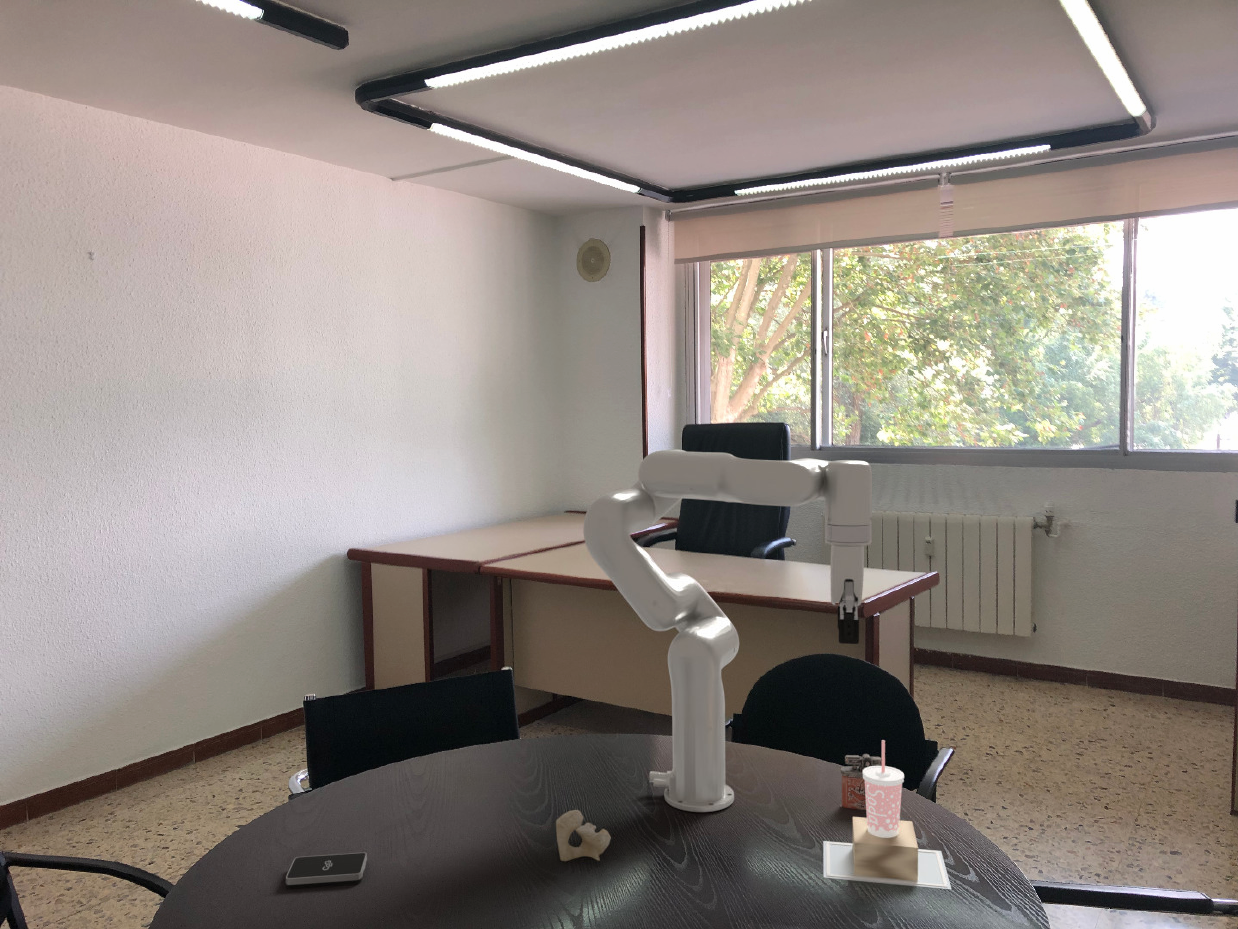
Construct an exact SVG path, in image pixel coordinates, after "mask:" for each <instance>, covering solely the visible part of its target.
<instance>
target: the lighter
mask: <svg viewBox="0 0 1238 929" xmlns="http://www.w3.org/2000/svg"><path fill="white" fill-rule="evenodd" d="M844 763H845V764H846V765H847V766H842V767H841V768H840V775H841V804H840V808H844V809H850V810H859V811H860V810H864V811H866V795H865V780H864V779H863V770H864V769H865V768H867V767H870V766H882V757H880V756H870V754H868V753H864V754H862V756H859V755H855V754H854V755H849V754H847V755H845V756H844ZM849 765H851V766H849Z"/></svg>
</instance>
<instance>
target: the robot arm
mask: <svg viewBox="0 0 1238 929" xmlns="http://www.w3.org/2000/svg"><path fill="white" fill-rule="evenodd" d="M637 473H638V474H637V475H638V481H636V483H634V484H633V485H632V486H631V487H629V488H626V489H618V490H614V491H609V492H606V493H604V494H602V495H600V496H598V497H597V498H596V499H595V500H593V501H592V503H591V504H590V505H589V507H588V508H587V511H586V513H585V516H584V520H583V539H584V542H585V546H586V548H587V550H588V552H589V555H590V556H591V557H592V559H593V561H594V562H595V563H596V564H597V566H598V567H599V568H600V569H601V570H602V571H603V573H604V574H605V575H606V576H607V578H608V579H609V580H610V581H611V582H612V583H613V585H614V586H615V587H616V589H617V591H618V592H619V593H620V595H621V596H623V598H624V599H625V601H626V602H627V603H628V604H629V606H630V607H631V608H632V609H633V611H634V612H635V613H636V614H637V616H638V617H639V618H640V620H641V621H642V622H643V623H644V624H645V625H646V626H647V627H648V628H650V630H653V631H656V632H666V631H668V630H671V629H674V628H675V629H676V630H677V631H678V633H677V634H676V635H675V637H673V639H672V641H671V643H670V644H669V648H668V651H667V652H668V653H667V664H668V665H667V666H668V673H669V679H670V686H671V687H670V688H671V717H672V720H671V722H672V769H671V770H667V771H666V772H660V771H654V770H653V771H649V775H648V776H649V777H648V778H649V780H648V781H649V783H653V787H658V788H661V787H662V788H665V790H664V795H663V796H664V800H665V801H666V803H667V804H669V805H670V806H671V807H673V808H676V809H678V810H682V811H686V812H690V813H691V812H692V813H710V812H717V811H720V810H723V809H726V808H728V807H730V806H731V805H732V804H733V802H734V800H735V792H734V790H733V789H732V788H731V786H729V785H728V784H726V700H725V691H724V690H725V689H724V685H723V680H722V669H724V667H725V666H726V665H728V664H730V663H731V662H732V661H733V660H734V659H735V657H736V656H737V654H738V652H739V647H740V638H739V634H738V630H737V629H736V627H735V626H734V624H733V623H732V621H731V620H730V619H729V618H728V616H727V615H726V614H725V612H724V611H723V610H722V609H721V608H720V606H719V605H718V604H717V603H716V601H715V600H714V599H713V598H712V597H711V595H710V594H709V593H708V592H707V590H705V588H704V587H703V586H702V585H701V584H700V583H699V581H697V580H696V579H695V578H694V577H692V576H690V575H688V574H686V573H684V572H677V571H676V572H675V571H674V572H668V573H665V572H664V571H663V570H662V568H660V566H659V565H658V564H657V563H656V561H654V559H653V558H652V556H651V555H650V554H649V553H648V552H647V551H646V550H645V549H644V548H643V547H641V546H640V545H639V544H637V542H635V541H634V540H633V538H632V537H631V535H632V534H635V533H638V532H643V531H645V530H647V529H649V528H650V527H652V526H653V525H655V524H656V523H657V522H658V521H659V520H660V519H662V518H663V517H664V516H665V515H666V514H667V513H668V512H669V511H670V510H672V509H673V508H674V507H675V506H676V505H677V504H678V503H679V502H680V501H682V499H688V500H689V499H690V500H691V499H692V500H704V501H718V502H726V503H740V504H749V505H759V506H775V507H798V506H802V505H805V504H807V503H812V502H816V501H824V522H825V523H824V543H825V544H827V545H831V546H830V548H831V550H830V603H831V604H832V605H833V606H835V605H836V603H838V606H837V629H838V643H839V644H847V645H848V644H849V645H858V644H859V643H860V618H859V614H858V609H859V608H858V607H859V606H860V605H861V604H862V600H863V599H862V598H863V590H864V589H863V588H864V572H865V570H864V569H865V567H864V566H865V547H866V546H871V545H872V520H873V519H872V517H873V515H872V498H873V496H872V493H873V491H872V489H873V485H872V480H873V475H872V474H873V473H872V467H871V464H870V463H868V462H867V461H864V460H854V459H851V460H850V459H843V460H842V459H841V460H839V459H838V460H832V461H831V460H823V459H817V458H812V457H811V458H808V457H805V458H804V457H803V458H798V459H792V460H771V459H769V460H768V459H750V458H741V457H737V456H734V455H733V454H731V453H728V452H711V451H709V452H708V451H706V452H705V451H704V452H703V451H686V450H683V449H678V448H675V449H665V450H664V449H663V450H656V451H653V452H651V453H649V454H648V455H646V456H645V457H644V458H643V459H642V461H641V462H640V464H639V467H638V472H637Z"/></svg>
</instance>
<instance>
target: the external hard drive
mask: <svg viewBox="0 0 1238 929" xmlns="http://www.w3.org/2000/svg"><path fill="white" fill-rule="evenodd" d="M367 855H368V854H367V852H351V853H349V852H348V853H336V854H321V855H308V856H307V855H306V856H297V857H295V858H294V859H293V861H292V863H291V865H290V867H289V869H288V872H287V873H286V876H285V887H286V889H288V890H295V889H297V890H298V889H309V888H310V889H311V888H322V887H323V888H325V887H335V886H348V885H349V886H350V885H352V886H353V885H359V884H361V882H362V880H363V878H364V874H365V870H366V866H367V863H368V856H367Z"/></svg>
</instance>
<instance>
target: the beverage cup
mask: <svg viewBox="0 0 1238 929" xmlns="http://www.w3.org/2000/svg"><path fill="white" fill-rule="evenodd" d="M885 753H886V740H884V739H882V740H881V766H875V765H873V766H870V767H867V768H865V769H864V770H863V779H864V780H865V795H866V810H865V811H866V818H867V829H868V832H869V833H870V834H872V835H874V836H878V837H883V838H890V837H895V836H897V835H898V834H899V821H901V808H902V806H901V805H902V803H901V802H902V792H903V789H902V788H903V783H904V782H905V780H904V779H905V774H904V772H903V771H902V770H900V769H898V768H896V767H892V766H887V765H886V754H885Z"/></svg>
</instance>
